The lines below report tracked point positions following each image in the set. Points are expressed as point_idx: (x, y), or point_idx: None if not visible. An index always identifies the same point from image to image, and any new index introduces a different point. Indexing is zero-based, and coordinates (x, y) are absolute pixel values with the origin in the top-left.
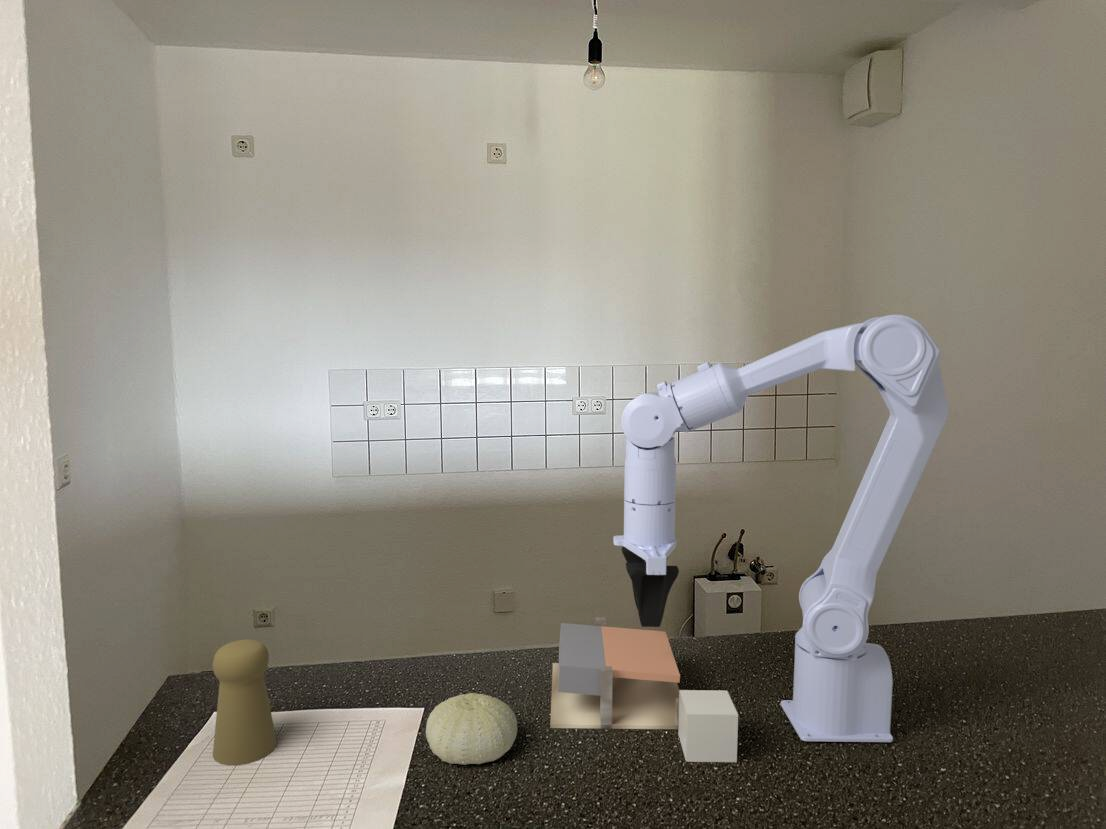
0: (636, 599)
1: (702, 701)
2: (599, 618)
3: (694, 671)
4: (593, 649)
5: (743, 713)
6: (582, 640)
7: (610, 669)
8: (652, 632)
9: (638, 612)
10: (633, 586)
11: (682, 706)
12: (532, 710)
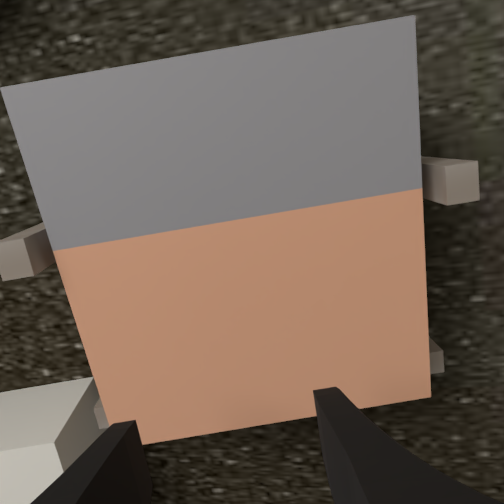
0: (320, 414)
1: (8, 494)
2: (463, 178)
3: (400, 402)
4: (196, 188)
5: (214, 494)
6: (262, 135)
7: (9, 273)
8: (411, 361)
9: (82, 454)
10: (340, 443)
11: (6, 440)
12: (112, 15)
